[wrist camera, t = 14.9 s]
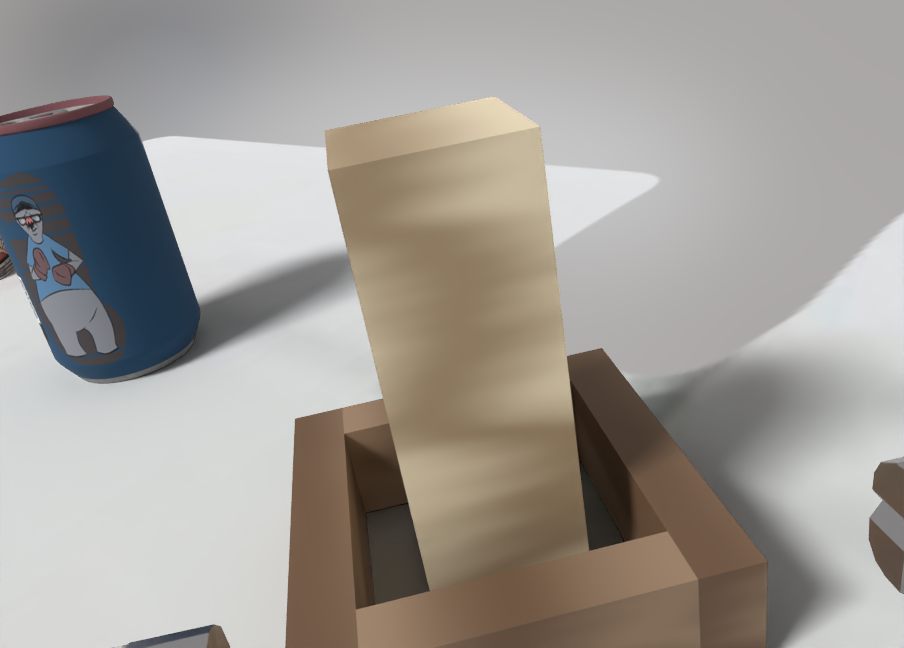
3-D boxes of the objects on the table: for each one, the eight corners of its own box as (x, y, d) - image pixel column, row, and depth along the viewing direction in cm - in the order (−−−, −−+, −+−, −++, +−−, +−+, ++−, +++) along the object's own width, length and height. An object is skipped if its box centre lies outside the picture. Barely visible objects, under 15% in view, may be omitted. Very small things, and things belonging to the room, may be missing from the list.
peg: (550, 501, 23) (494, 96, 18) (594, 598, 19) (540, 126, 14) (421, 533, 23) (325, 130, 17) (441, 637, 19) (327, 170, 14)
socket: (608, 425, 26) (601, 348, 25) (765, 663, 17) (767, 561, 16) (318, 494, 25) (295, 419, 24) (321, 782, 16) (283, 686, 15)
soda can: (194, 309, 42) (117, 87, 37) (221, 354, 36) (133, 98, 31) (62, 353, 40) (-41, 122, 34) (67, 409, 34) (-55, 140, 29)
